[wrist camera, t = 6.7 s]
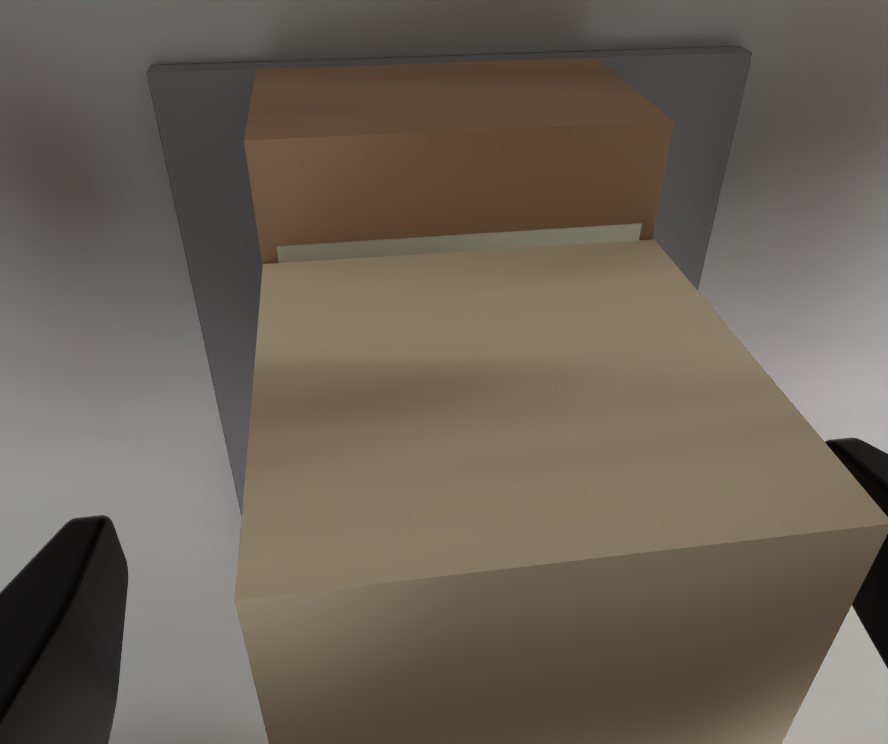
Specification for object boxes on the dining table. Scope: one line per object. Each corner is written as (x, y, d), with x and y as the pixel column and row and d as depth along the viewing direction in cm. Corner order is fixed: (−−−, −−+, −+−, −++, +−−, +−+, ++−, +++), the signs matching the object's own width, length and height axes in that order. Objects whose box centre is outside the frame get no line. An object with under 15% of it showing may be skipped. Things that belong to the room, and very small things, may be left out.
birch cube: (603, 510, 13) (741, 822, 9) (303, 543, 12) (305, 895, 8) (654, 239, 10) (893, 523, 6) (263, 264, 9) (235, 600, 5)
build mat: (607, 649, 21) (612, 661, 21) (282, 693, 20) (282, 707, 20) (739, 46, 12) (752, 52, 12) (150, 65, 11) (146, 72, 11)
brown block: (549, 455, 16) (593, 567, 14) (310, 479, 16) (312, 601, 13) (595, 57, 11) (675, 122, 9) (256, 68, 11) (243, 142, 8)
